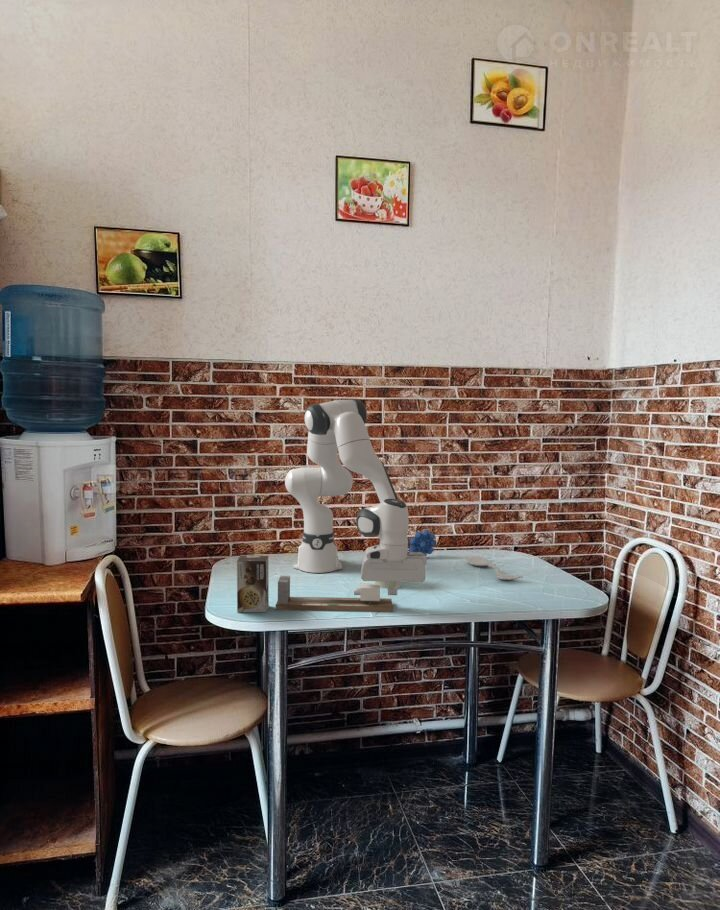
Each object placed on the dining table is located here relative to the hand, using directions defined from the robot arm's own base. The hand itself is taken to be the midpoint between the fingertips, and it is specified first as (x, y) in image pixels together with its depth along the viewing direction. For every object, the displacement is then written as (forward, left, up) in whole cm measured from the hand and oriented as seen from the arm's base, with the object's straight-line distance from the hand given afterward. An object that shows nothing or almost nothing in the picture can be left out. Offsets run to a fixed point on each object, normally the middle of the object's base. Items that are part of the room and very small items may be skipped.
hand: (392, 594), depth 193 cm
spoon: (-42, +41, -4) cm, 59 cm away
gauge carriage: (+1, -8, -2) cm, 8 cm away
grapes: (-62, +16, -4) cm, 64 cm away
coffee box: (+4, -43, -4) cm, 43 cm away
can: (-24, 0, -4) cm, 24 cm away
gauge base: (0, -18, -4) cm, 19 cm away
